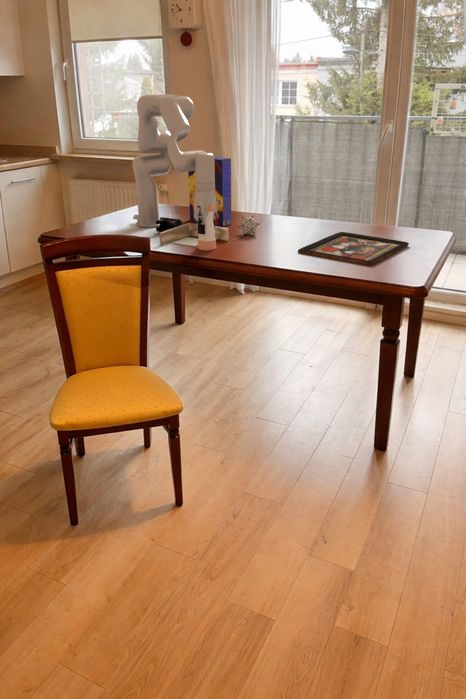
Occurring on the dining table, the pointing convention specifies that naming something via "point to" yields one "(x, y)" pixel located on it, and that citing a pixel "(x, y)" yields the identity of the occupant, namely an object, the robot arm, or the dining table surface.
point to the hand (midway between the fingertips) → (206, 231)
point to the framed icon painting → (354, 248)
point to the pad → (188, 241)
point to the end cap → (167, 224)
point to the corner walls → (189, 233)
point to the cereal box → (216, 191)
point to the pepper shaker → (208, 232)
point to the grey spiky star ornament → (248, 225)
